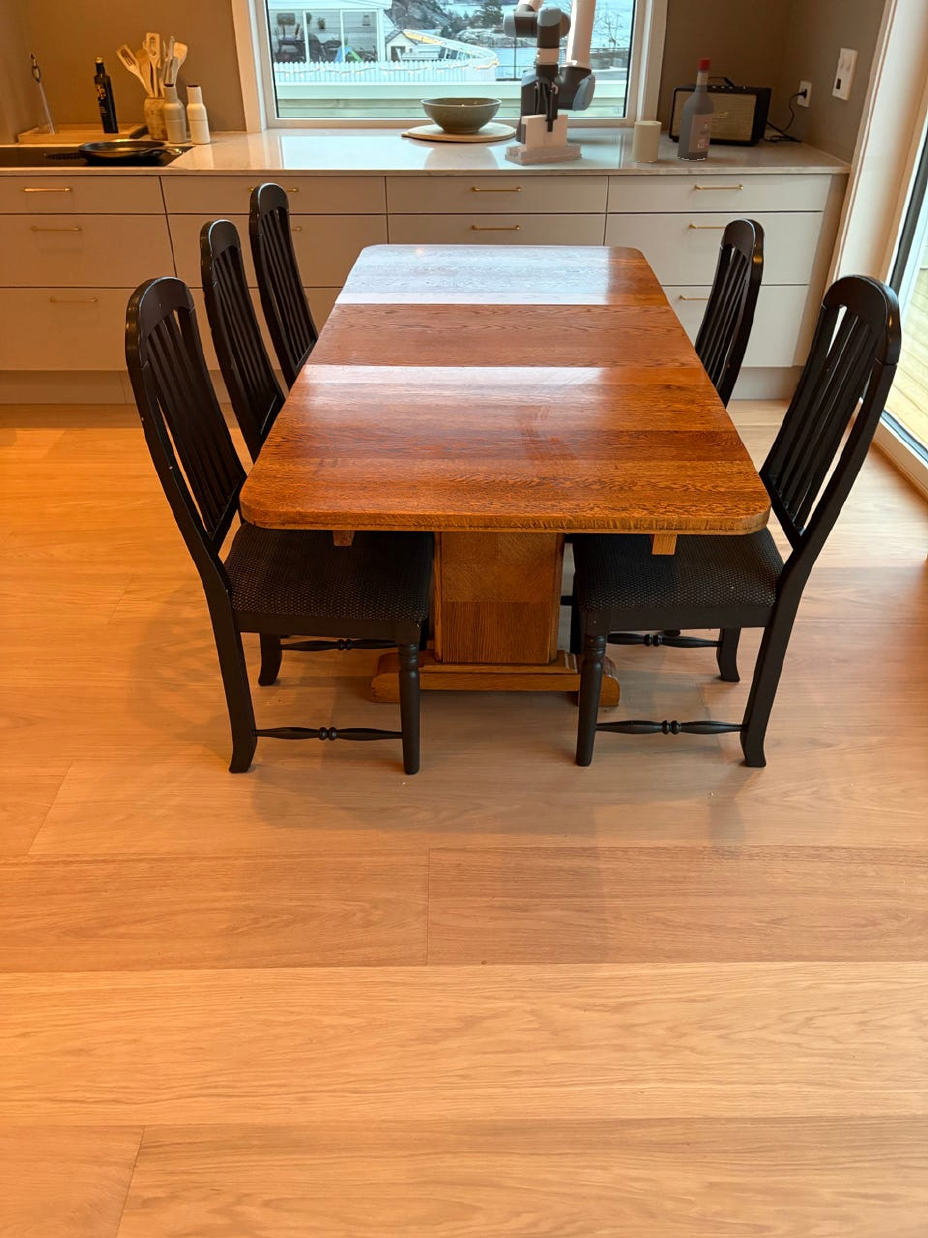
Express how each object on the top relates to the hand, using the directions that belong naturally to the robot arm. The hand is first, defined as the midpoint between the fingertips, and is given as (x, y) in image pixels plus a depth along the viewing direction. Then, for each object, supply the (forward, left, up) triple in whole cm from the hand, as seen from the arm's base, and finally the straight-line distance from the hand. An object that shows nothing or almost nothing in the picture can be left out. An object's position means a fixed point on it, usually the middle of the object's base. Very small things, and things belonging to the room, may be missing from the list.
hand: (543, 140), depth 324 cm
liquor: (-46, +24, -6) cm, 52 cm away
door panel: (0, 0, -4) cm, 4 cm away
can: (-30, +18, -6) cm, 35 cm away
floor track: (0, 0, -6) cm, 6 cm away
